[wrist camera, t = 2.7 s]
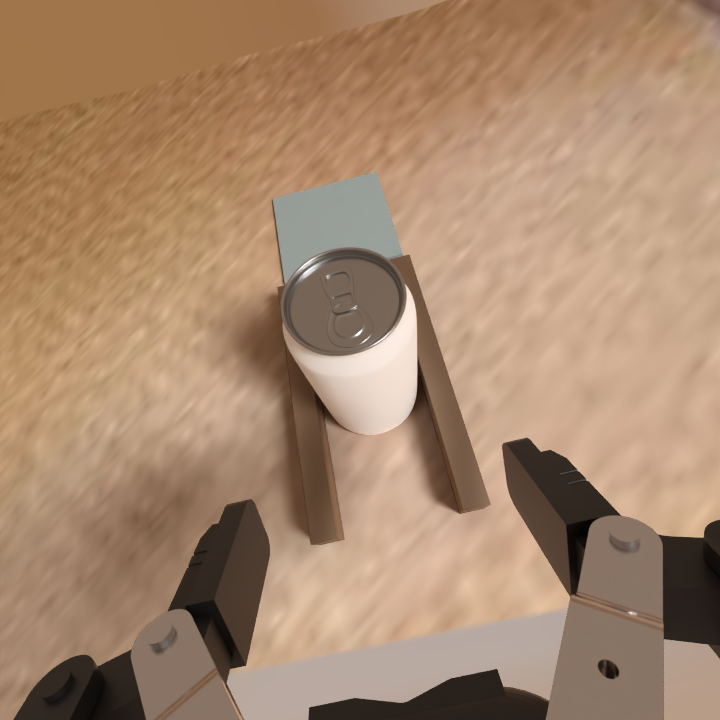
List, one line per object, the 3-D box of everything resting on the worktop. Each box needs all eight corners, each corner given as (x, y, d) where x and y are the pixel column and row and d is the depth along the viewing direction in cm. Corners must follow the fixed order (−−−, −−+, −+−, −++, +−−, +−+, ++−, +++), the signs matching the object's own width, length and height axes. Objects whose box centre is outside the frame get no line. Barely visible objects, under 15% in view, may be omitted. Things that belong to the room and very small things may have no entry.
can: (336, 447, 27) (282, 383, 16) (318, 364, 30) (262, 261, 19) (429, 422, 27) (437, 340, 16) (402, 341, 30) (393, 224, 19)
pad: (285, 285, 33) (284, 282, 33) (273, 200, 38) (272, 198, 37) (402, 256, 33) (402, 253, 33) (376, 174, 37) (376, 171, 37)
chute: (320, 544, 24) (310, 544, 22) (287, 305, 32) (277, 287, 30) (484, 508, 24) (490, 504, 22) (409, 274, 32) (409, 254, 30)
